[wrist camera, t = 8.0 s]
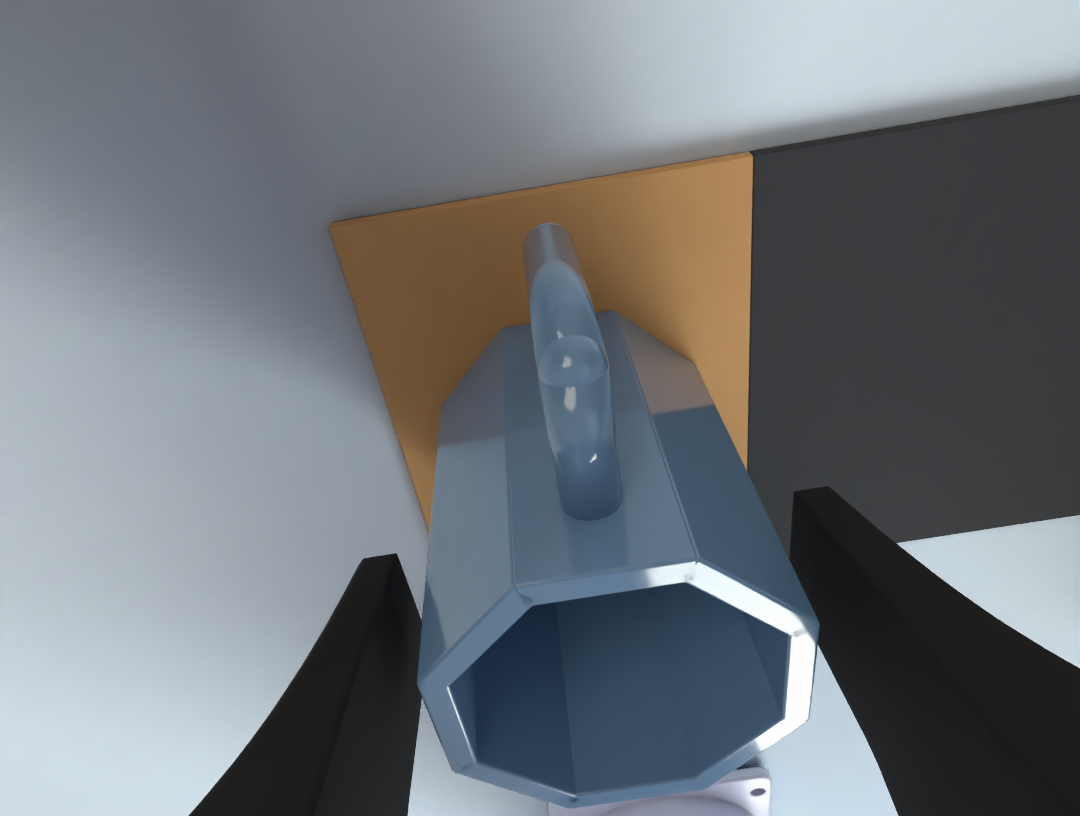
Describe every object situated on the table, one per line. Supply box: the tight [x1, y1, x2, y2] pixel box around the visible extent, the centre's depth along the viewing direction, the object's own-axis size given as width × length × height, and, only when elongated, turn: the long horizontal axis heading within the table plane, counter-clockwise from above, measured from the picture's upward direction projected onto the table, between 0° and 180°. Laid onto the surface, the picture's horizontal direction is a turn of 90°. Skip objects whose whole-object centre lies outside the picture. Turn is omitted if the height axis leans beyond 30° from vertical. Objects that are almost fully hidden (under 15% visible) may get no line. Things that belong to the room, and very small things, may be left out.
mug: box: [417, 223, 820, 809], centre depth 13 cm, size 8×6×7 cm
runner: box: [329, 95, 1080, 558], centre depth 16 cm, size 11×20×1 cm, turn 98°
